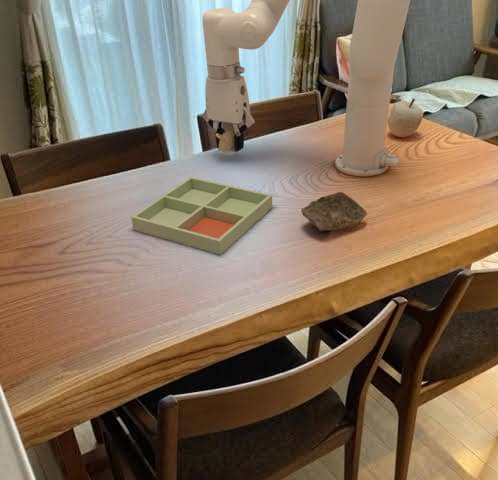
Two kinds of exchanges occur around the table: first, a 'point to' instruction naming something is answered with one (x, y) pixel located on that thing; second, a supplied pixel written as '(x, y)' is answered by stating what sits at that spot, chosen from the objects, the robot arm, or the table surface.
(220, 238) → the grid
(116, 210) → the table surface
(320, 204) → the stone
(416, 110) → the decorative object
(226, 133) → the decorative ornament
